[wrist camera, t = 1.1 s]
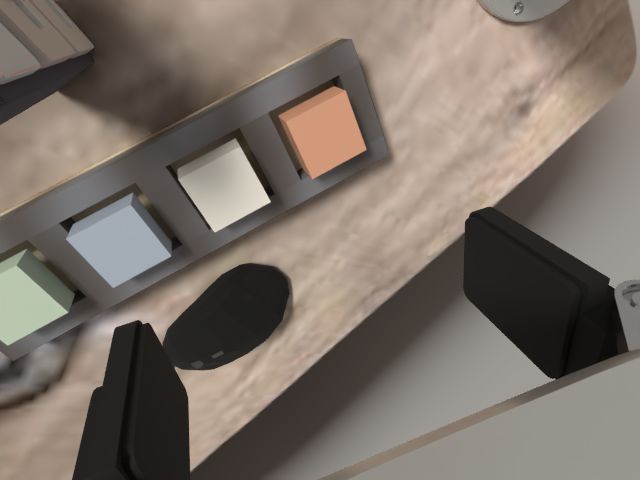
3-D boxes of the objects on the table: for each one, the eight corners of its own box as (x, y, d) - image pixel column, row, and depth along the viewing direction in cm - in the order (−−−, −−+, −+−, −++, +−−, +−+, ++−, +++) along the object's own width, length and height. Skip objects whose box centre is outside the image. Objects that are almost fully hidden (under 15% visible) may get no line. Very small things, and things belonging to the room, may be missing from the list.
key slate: (133, 192, 24) (130, 204, 23) (171, 241, 26) (171, 256, 25) (73, 224, 24) (65, 239, 22) (116, 271, 26) (113, 288, 24)
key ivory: (235, 138, 25) (240, 146, 23) (264, 191, 27) (270, 201, 25) (177, 168, 24) (178, 179, 23) (211, 219, 27) (214, 232, 25)
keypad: (336, 38, 26) (351, 39, 24) (373, 145, 31) (389, 154, 28) (-78, 253, 24) (-102, 276, 22) (25, 335, 29) (13, 360, 26)
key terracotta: (333, 86, 25) (345, 90, 23) (354, 142, 27) (366, 149, 26) (278, 115, 25) (285, 122, 23) (303, 169, 27) (312, 179, 25)
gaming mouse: (119, 363, 33) (113, 402, 29) (251, 244, 32) (261, 270, 28) (178, 393, 36) (180, 431, 33) (300, 287, 35) (314, 314, 32)
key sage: (27, 248, 24) (16, 265, 22) (74, 294, 26) (68, 312, 24) (-36, 281, 23) (-51, 301, 22) (18, 324, 26) (7, 345, 24)
